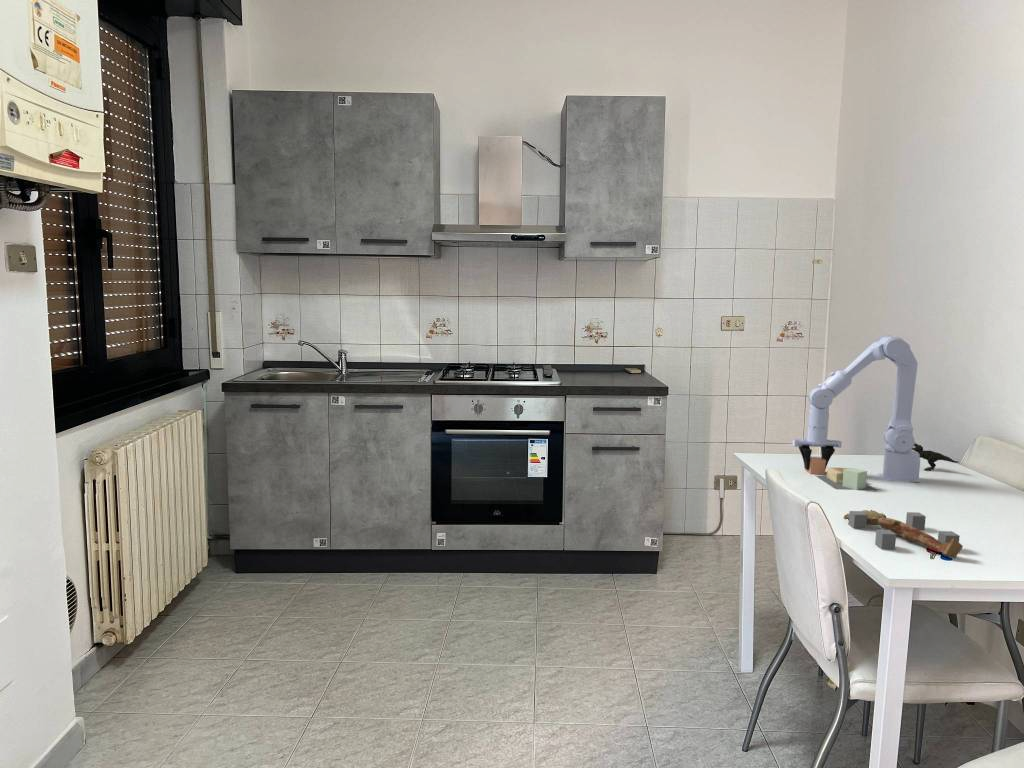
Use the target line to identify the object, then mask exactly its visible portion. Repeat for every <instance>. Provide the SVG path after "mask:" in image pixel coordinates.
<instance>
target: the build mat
mask: <svg viewBox="0 0 1024 768" xmlns="http://www.w3.org/2000/svg"><path fill="white" fill-rule="evenodd" d="M815 477H817V478H818V479H819V480H821V481H822V482H823V483H826V484H827V485H828V486H830V487H831V488H833V489H835V490H847V491H848V490H849V491H851V490H855V489H851V488H848V487H844V486H842V484H843V483H835V482H834V481H832V480H831V479H829V478H828V477H827V475H815ZM858 490H859V491H878V489H876V488H875V487H873V486H871V485H870V484H868V483H866V488H863V489H858ZM858 490H857V491H858ZM855 491H856V490H855Z"/></svg>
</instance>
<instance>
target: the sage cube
mask: <svg viewBox="0 0 1024 768" xmlns="http://www.w3.org/2000/svg"><path fill="white" fill-rule="evenodd" d="M848 468H849V469H844V471H843V484H842V486H844V487H848V488H851V489H855V491H858V489H863V488H866V484H867V480H868V479H867V477H868V470H865V469H859V468H856V467H848Z"/></svg>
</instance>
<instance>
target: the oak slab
mask: <svg viewBox="0 0 1024 768" xmlns="http://www.w3.org/2000/svg"><path fill="white" fill-rule="evenodd" d="M849 468H850V467H826V476H827V477H828V478H829V479H831V480H832V481H834V482H835V483H843V471H844V469H849Z"/></svg>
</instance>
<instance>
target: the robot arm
mask: <svg viewBox="0 0 1024 768" xmlns="http://www.w3.org/2000/svg"><path fill="white" fill-rule="evenodd" d="M912 351H913V350H911V345H910V344H909V343H908V342H906V341H905V340H904V339H903V338H901V337H898V336H897V337H896V336H891V335H887V334H886V335H883V336H881V337H879V338H878V340H877V341H874V342H872V343H871V344H870V345H869V346H868V347H867V348H866V349H865V350H864V351H863V352H861V354H860V355H859V356H858V357H856V358H855V359H854V360H853V361H852V362H851V363H850V364H849V365H848V366H847V367H846V368H845V369H844V370H836V371H835V372H834V371H832V372H830V373H829V377H828V378H826V380H825V381H824V382H822V383H819V384H818V385H817V386H818V387H815V388H813V389H812V390H811V391H810V393H809V394H808V396H807V398H808V402H809V403H810V404H809V405H810V406H809V413H808V422H807V423H808V424H807V425H808V426H807V437H806V438H799V439H792V446H793V447H796V448H797V447H798V449H799V451H800V454H801V457H802V460H803V465H804V466H803V467H804V470H805V469H806V470H809V467H810V457H811V456H812V453H813V449H811V447H813V448H814V447H819V448H820V453H821V455H820V457H822V458H823V459H825V460H826V465H825V471H827V466H828V464H829V461H830V460H831V457H832V456H833V454H835V452H836V451H835V450H836V449H835V448H840V449H841V448H842V443H843V442H842V441H841V440H839V439H837V440H835V439H828V434H829V422H830V421H829V419H830V413H829V412H830V406H831V405H832V404H833V399H835V398H837V397H838V396H839V395H840V394H841V393H842V392H844V391H845V390H846V389H848V387H850V385H851V384H852V380H853V379H852V378H854V377H855V376H856V375H858V374H859V373H860V372H862V370H864V369H865V368H867V367H868V366H869V365H871V364H872V363H873V362H875V361H876V362H877V361H881V360H882V361H883V360H886V358H887V359H889V360H890V361H891V362H892V363H893V364H894V365H895V366H896V367H897V372H896V373H897V374H896V380H895V381H896V382H895V389H894V397H893V404H892V406H893V407H892V411H891V412H892V413H891V418H890V420H889V422H888V425H887V426H888V427H887V428H886V430H885V431H884V433H883V440H884V442H885V443H886V446H885V447H884V456H883V467H882V473H877V474H876V475H877V476H879V477H880V478H882V479H884V480H887V481H889V482H909V483H920V482H921V480H920V469H921V458H920V456H919V453H918V452H916V451H914V450H911V449H912V448H914V443H916V442H915V437H914V435H913V424H912V421H911V419H912V411H913V406H914V405H913V404H914V403H913V402H914V396H915V389H916V387H915V386H916V379H917V372H918V361H917V358H916V357H915V355H914V353H913V352H912Z"/></svg>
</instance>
